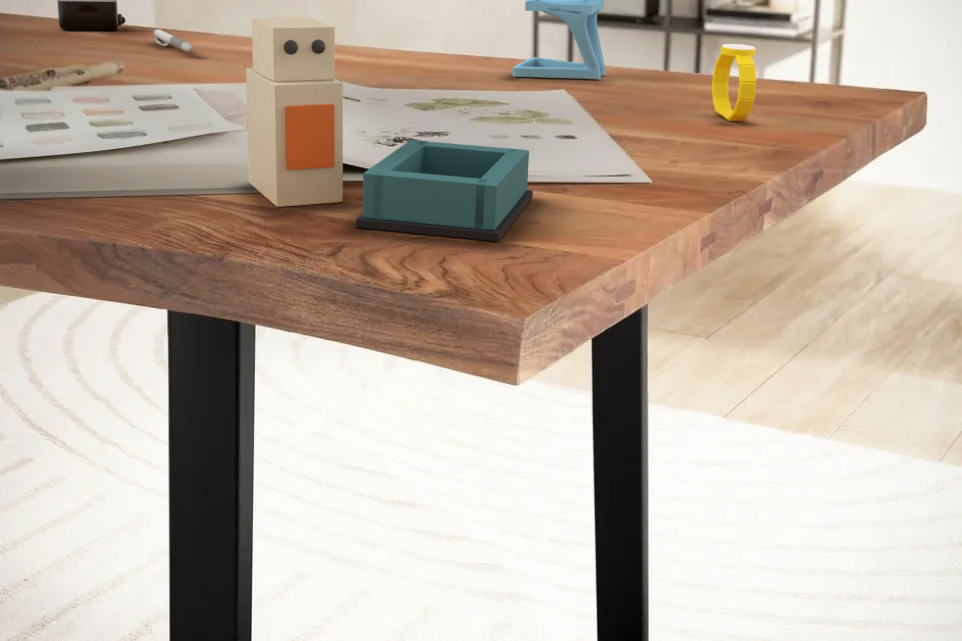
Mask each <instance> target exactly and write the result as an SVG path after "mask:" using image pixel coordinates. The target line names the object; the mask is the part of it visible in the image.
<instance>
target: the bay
mask: <svg viewBox="0 0 962 641" xmlns="http://www.w3.org/2000/svg"><path fill="white" fill-rule="evenodd" d="M529 162H530V150H528V149H518V148H507V147H496V146H486V145H485V146H484V145H473V144H462V143H451V142H449V143H448V142H439V141H427V140H416V139H410V140H408V141H406V143H404V144H403V145H401V146H400V147H398V148H397V149H395V150H394V151H393V152H391V153H390V154H389V155H387V156H386V157H384V158H383V159H382V160H380V161H379V162H378V163H375V165H373V166H371V167H370V168H368V169H367V170H366V171H364V172H363V173H362V183H363V184H362V213H361V214H360V215H359V216H358V217H357V218H356V219H355V227H356V228H358V229H359V228H360V229H366V230H367V229H370V230H379V231H387V232H388V231H389V232H398V233H407V234H417V235H428V236H437V237H438V236H439V237H446V238H447V237H448V238H458V239H467V240H478V241H486V242H487V241H488V242H495V243H496V242H497V243H499V242H500V240H501V239H502V238H503V237H504V236H505V234H506V233H507V232H508V230H509V229H510V228H511V227H512V225H513V224H514V222H515V221H516V220H517V219H518V217H519V216H520V215H521V213H522V212H523V211H524V209H525V208H526V207H527V205H528V204H529V203H530V201H532V199H533V196H534V195H533V194H534V190H533V189H528V183H529V182H528V180H529Z"/></svg>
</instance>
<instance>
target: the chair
mask: <svg viewBox="0 0 962 641" xmlns="http://www.w3.org/2000/svg"><path fill="white" fill-rule="evenodd" d="M524 6H525V7H524V11H528V12H541V13H544V14H547V15H549V16H552V17H556V18H558V19H560V20H561V21H562V22H564V23H565V25H566V26H567V27H568V28H569V30H570V32H571V34H572V36H573V38H574V40H575V42H576V44H577V48H578V50H579V52H580V55H581V58H582V61H583V62H578V61H577V62H576V61H569V60H568V61H567V60H561V59H560V60H559V59H553V58H544V57H529V58H526V59H525V60H523V61H522V62H520V63H518V64H516V65H515V66H513V67H512V77H513V78H547V79H548V78H550V79H551V78H552V79H580V80H581V79H583V80H601V79H602V77H604V76H606V64H605V60H604V55H603V50H602V46H601V42H600V35H599V30H598V14H599V12H600V11H602V10H604V6H605V0H525V4H524Z"/></svg>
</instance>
